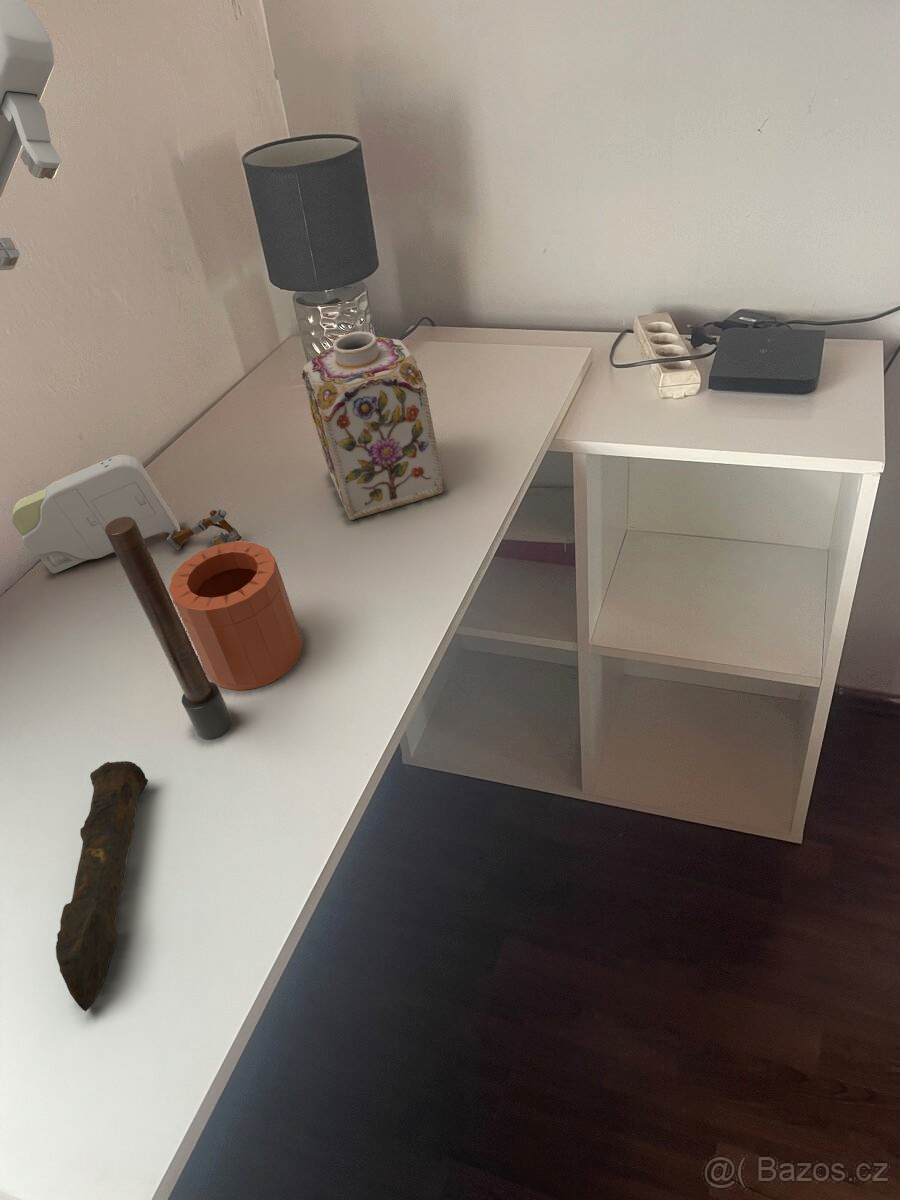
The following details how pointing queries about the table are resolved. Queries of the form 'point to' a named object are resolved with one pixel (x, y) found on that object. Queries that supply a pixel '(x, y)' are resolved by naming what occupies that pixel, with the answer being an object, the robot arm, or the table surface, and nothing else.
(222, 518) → the wooden post with brackets
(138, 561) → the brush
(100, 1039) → the table surface
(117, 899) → the hand tool
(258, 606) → the terracotta plant pot
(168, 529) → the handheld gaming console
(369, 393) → the decorative jar
